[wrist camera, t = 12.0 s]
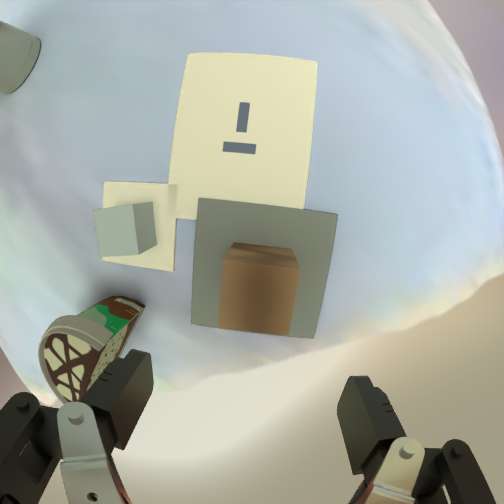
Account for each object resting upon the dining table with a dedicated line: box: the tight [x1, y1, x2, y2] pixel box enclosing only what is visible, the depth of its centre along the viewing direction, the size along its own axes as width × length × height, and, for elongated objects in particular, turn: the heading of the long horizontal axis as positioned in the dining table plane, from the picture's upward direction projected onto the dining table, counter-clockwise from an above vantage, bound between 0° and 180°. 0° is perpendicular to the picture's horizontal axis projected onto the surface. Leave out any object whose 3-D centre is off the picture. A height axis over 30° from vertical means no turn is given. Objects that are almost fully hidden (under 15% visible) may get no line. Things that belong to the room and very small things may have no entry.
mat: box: [191, 198, 338, 339], centre depth 24 cm, size 12×12×1 cm
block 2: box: [218, 242, 300, 336], centre depth 21 cm, size 5×5×6 cm
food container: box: [38, 296, 145, 404], centre depth 22 cm, size 12×6×10 cm, turn 146°
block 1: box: [93, 202, 157, 257], centre depth 22 cm, size 4×4×4 cm
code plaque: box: [165, 53, 318, 220], centre depth 22 cm, size 12×16×1 cm
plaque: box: [102, 181, 178, 272], centre depth 24 cm, size 8×8×1 cm
